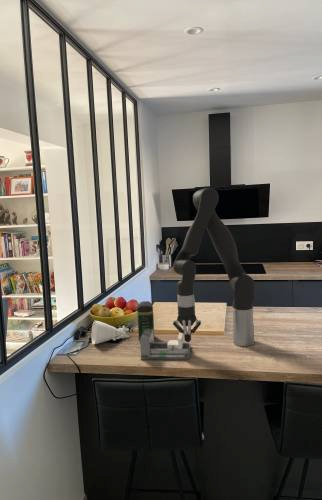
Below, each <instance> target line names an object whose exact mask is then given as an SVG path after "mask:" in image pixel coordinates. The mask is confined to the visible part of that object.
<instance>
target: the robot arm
mask: <svg viewBox="0 0 322 500" xmlns="http://www.w3.org/2000/svg"><path fill="white" fill-rule="evenodd" d="M192 202H193V205H194V207H195V209H196V211H197V213H196V216H195V217H194V220H193V222H192V223H191V225H190V227H189V229H188V230H187V232H186V234H185V238H184V241H183V244H182V247H181V249H180V251H179V252H178V253H177V256H176V257H175V260H174V261H173V271H174V272H175V274H177V275H181V278H182V279H180V280H179V281H178V282H177V303H176V304H177V318H176V319H175V320H173V322H172V325H173V326H174V327H175V328H176V330H177V331H178V332H180V333H183V339H184V341H185V343H190V342H191V341H192V334H194V333H196V331H197V330H198V329H199V327H200V326H201V325H202V321H201V320H199V319H198V318H197V316H196V302H195V294H194V293H195V291H194V289H195V288H194V284H195V280H196V275H197V266H196V264H195V262H194V261H193V260H191V258H192V257H194V256H196V255H198V252H199V250H200V247H201V244H202V240H203V238H204V234H205V231H206V230H207V232H208V235H209V237H210V240H211V242H212V245H213V247H214V250H215V251H216V253H217V255H218V257H219V259H220V261H221V262H222V264H223V266H224V268H225V271H226V274H227V276H228V281H229V283H230V284H229V285H230V286H231V288H232V289H233V290H234V291H233V292H234V299H233V301H232V333H233V334H232V335H233V336H232V337H233V339H232V340H233V344H234V345H236V346H239V347H250V346H254V345H255V325H254V303H255V281H254V279H253V278H252V277H251V276H250V275H248V274H247V273H246V271H245V269H244V268H243V266H242V264H241V262H240V260H239V254H238V247H237V244H236V242H235V239H234V236H233V234H232V233H231V231H230V229H229V228H228V227H227V225H226V224H225V223H224V222H223V221H222V220H221V219H220V217H219V216H218V214H217V212H216V210H215V209H216V207H217V206H218V203H219V193H218V191H217V190H216V189H214V188H212V187H205V188H202V189H199V190H197V191H195V192H194V193H193V195H192ZM194 324H195V325H194ZM193 325H194V326H193ZM192 326H193V328H192Z"/></svg>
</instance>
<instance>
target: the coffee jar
mask: <svg viewBox="0 0 322 500" xmlns="http://www.w3.org/2000/svg"><path fill="white" fill-rule="evenodd" d="M136 312H137V316H136V317H137V328H138V330H137V331H138V341H140V338H141V336H142V334H143V332H144V330H145V329H153V333H154V334H155V322H154V321H155V320H154V307H153V303H152V302H151V301H140V302H139V303H138V304H137V306H136Z"/></svg>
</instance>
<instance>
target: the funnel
mask: <svg viewBox="0 0 322 500" xmlns="http://www.w3.org/2000/svg"><path fill="white" fill-rule="evenodd" d="M127 332H129V327H127V328H126V326H125V325H122V327H119V328H116V327H115V326H112V325H110V324H107V323H105V322H102V321H99V320H94V321H93V323H92V326H91V336H90V337H91V343H92V345H98V344H101V343H105V342H108V341H110V340H111V341H117V340H116V339H118V340H120V339H129V338H130V336H129V334H128V335H127Z"/></svg>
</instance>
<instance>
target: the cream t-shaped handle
mask: <svg viewBox="0 0 322 500" xmlns="http://www.w3.org/2000/svg"><path fill="white" fill-rule="evenodd" d="M178 332H179V331H178ZM184 341H185V339H184V333H180V332H179V333H178V336H177V339H176V340H175V339H172V340H171V339H169V340H168V341H167V343H168V344H167V347H168V349H172V351H173V349H182V347H183V343H184Z"/></svg>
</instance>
